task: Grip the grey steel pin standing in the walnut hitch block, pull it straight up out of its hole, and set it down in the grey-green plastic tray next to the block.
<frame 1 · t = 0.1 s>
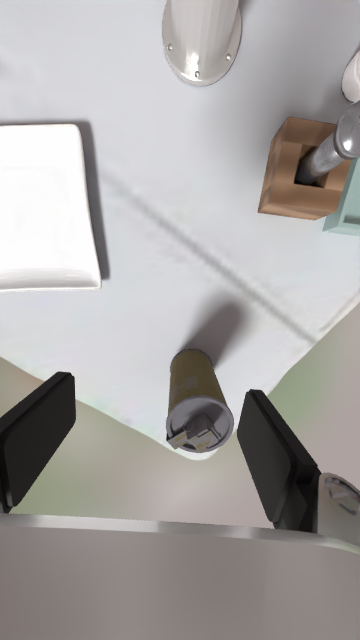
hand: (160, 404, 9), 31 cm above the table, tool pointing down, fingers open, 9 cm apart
square plate: (32, 222, 36), on the table
steel pin: (297, 179, 33), point 1 cm above the table, touching hitch block
canister: (190, 368, 44), on the table
water bottle: (353, 88, 31), on the table
hitch block: (294, 182, 34), on the table
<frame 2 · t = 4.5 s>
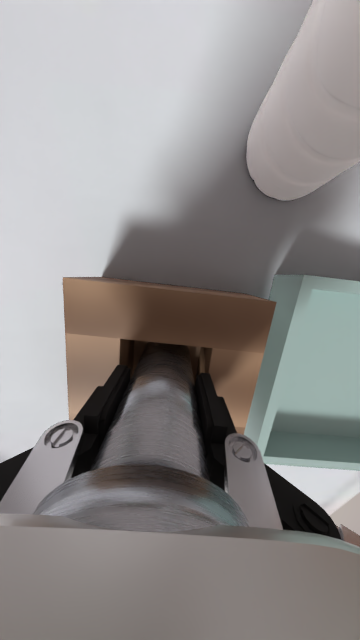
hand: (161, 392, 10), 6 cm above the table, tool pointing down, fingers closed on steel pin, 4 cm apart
steel pin: (166, 356, 15), point 1 cm above the table, touching gripper, hitch block
tray: (333, 368, 17), on the table
water bottle: (277, 168, 13), on the table
hitch block: (167, 351, 16), on the table
when the fingers open (7 cm above the table, at t = 14.2 s): steel pin drops 1 cm, resting on tray.
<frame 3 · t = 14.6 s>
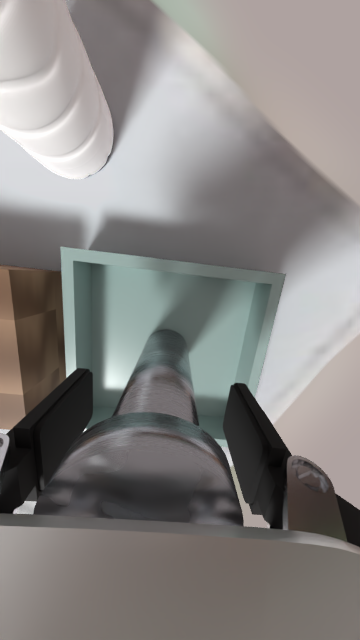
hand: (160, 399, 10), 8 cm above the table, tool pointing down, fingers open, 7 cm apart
steel pin: (166, 349, 17), point 1 cm above the table, touching tray
tray: (167, 346, 17), on the table
water bottle: (66, 147, 13), on the table
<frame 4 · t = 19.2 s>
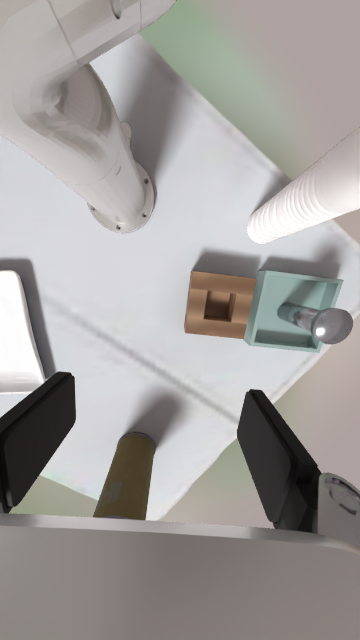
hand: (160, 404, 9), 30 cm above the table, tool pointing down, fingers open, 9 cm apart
steel pin: (286, 311, 39), point 1 cm above the table, touching tray
canister: (136, 447, 48), on the table
tray: (284, 310, 39), on the table
water bottle: (258, 231, 36), on the table
hitch block: (214, 302, 39), on the table
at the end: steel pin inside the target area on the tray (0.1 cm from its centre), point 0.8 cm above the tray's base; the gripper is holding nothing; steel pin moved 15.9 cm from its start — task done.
